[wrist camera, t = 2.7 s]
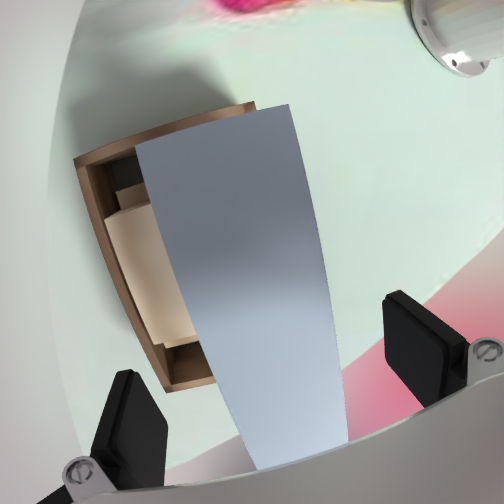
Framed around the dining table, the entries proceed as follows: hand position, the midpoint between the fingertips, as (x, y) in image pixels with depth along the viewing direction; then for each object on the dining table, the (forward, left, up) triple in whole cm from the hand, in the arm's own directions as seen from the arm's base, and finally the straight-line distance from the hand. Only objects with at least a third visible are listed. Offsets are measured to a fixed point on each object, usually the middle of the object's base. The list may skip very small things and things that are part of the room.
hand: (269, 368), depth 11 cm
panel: (0, 0, -19) cm, 19 cm away
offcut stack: (+6, 0, -19) cm, 20 cm away
